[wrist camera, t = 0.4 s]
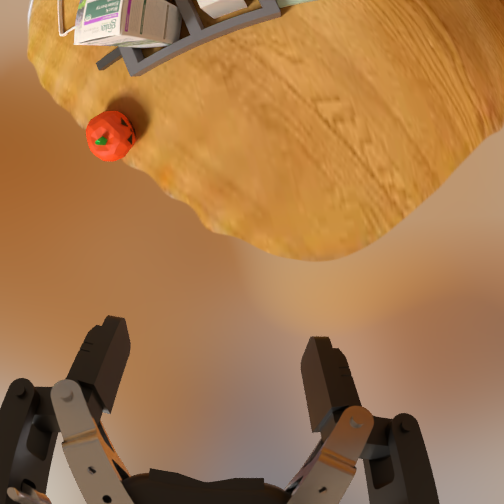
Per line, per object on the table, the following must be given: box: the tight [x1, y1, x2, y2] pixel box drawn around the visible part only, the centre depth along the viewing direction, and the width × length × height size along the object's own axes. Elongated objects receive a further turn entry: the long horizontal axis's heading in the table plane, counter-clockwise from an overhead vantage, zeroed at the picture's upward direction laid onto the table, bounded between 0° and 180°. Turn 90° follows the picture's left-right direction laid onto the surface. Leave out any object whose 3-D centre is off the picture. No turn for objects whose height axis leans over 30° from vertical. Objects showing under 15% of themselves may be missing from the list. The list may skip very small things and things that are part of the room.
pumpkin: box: [86, 111, 136, 161], centre depth 32 cm, size 7×8×6 cm
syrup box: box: [74, 0, 182, 48], centre depth 20 cm, size 6×6×14 cm
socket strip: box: [96, 0, 281, 77], centre depth 24 cm, size 25×10×3 cm, turn 110°
